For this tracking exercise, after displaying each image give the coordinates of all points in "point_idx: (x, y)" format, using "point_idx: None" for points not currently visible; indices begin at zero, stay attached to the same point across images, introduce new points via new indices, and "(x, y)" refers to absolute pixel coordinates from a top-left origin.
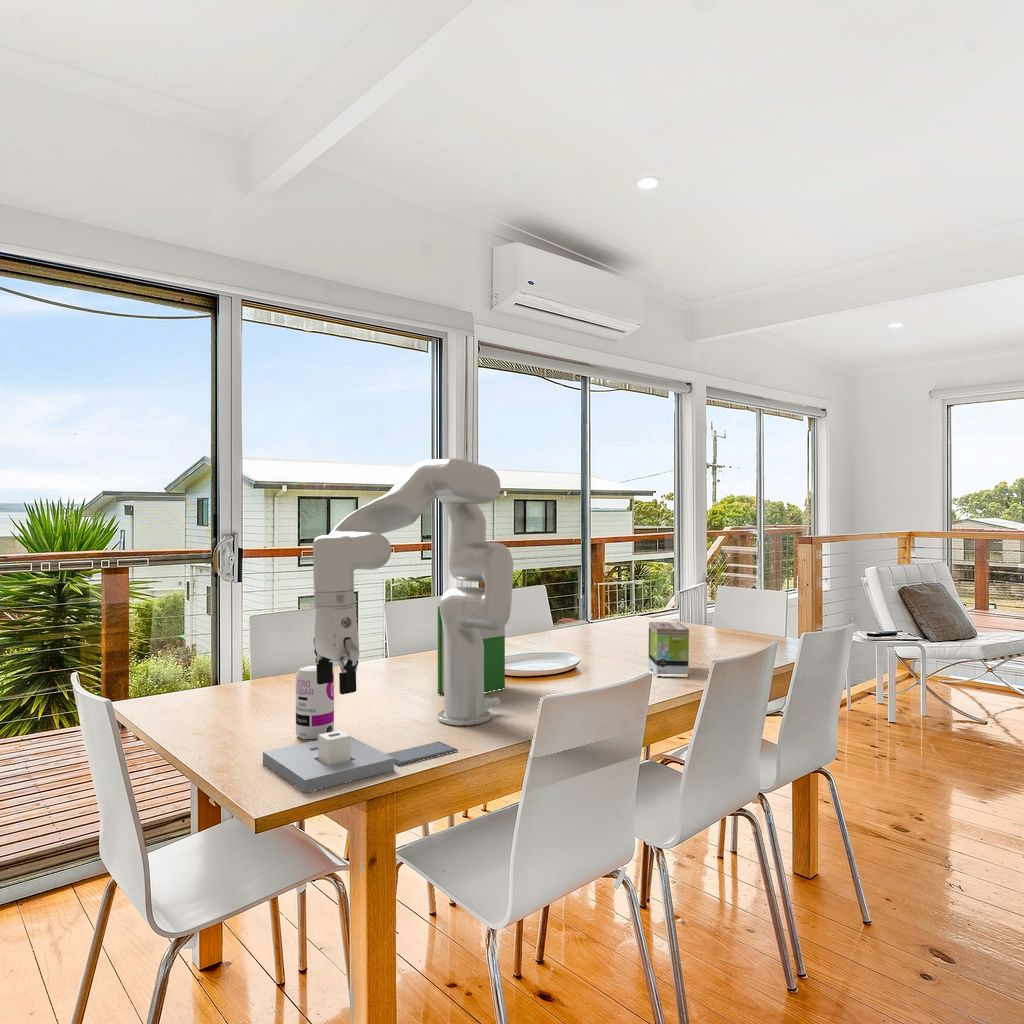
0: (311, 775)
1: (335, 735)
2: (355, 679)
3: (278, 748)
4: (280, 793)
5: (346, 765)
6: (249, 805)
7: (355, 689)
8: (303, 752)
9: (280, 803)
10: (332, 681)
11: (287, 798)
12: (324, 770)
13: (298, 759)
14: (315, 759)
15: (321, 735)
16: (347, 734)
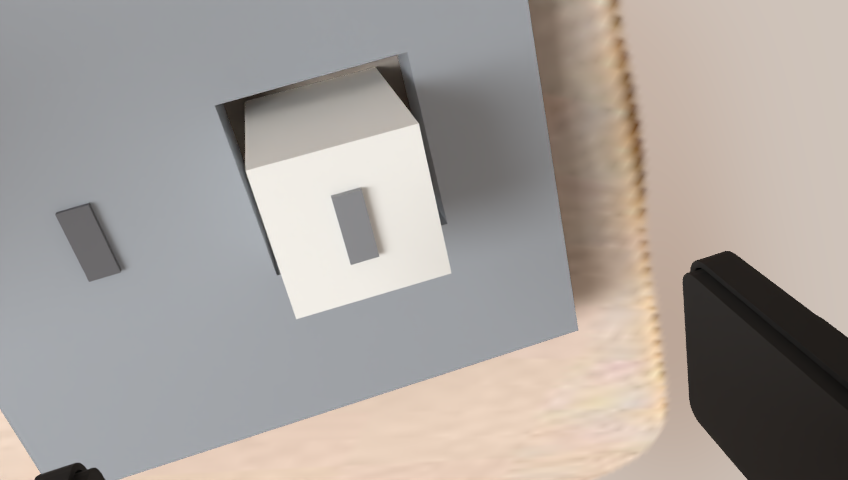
0: (536, 302)
1: (368, 218)
2: (824, 332)
3: (19, 433)
4: (499, 383)
5: (481, 124)
6: (557, 473)
7: (736, 266)
8: (146, 314)
9: (597, 384)
10: (77, 463)
11: (564, 361)
12: (498, 240)
13: (267, 344)
14: (271, 258)
15: (327, 302)
16: (382, 137)
